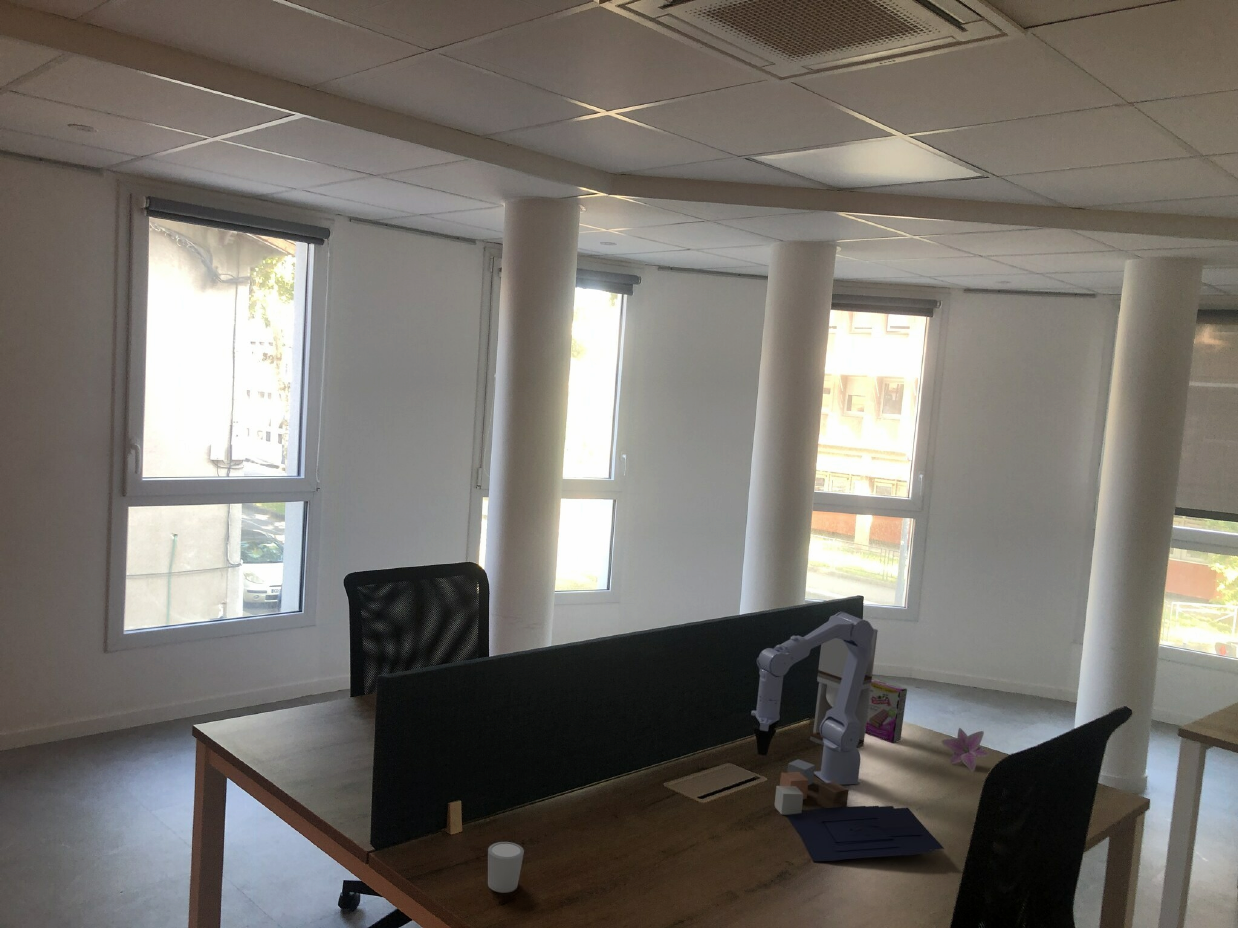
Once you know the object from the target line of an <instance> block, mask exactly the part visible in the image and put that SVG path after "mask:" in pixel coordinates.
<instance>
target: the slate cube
mask: <svg viewBox="0 0 1238 928" xmlns="http://www.w3.org/2000/svg"><path fill="white" fill-rule="evenodd" d="M787 772H799V773H800V774H802V775H803V776H804V777H805V778H807V779H808V780H809V782H808V786H810V785H812V784H813V783H814V775H815V774H814V772H815V764H813V763H811V762H806V761H805V760H801V759H799V758H798V759H795V760H793V761H790V762H789V763H787ZM787 772H786V773H787Z"/></svg>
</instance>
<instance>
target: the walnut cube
mask: <svg viewBox="0 0 1238 928" xmlns="http://www.w3.org/2000/svg"><path fill="white" fill-rule="evenodd" d="M849 791H850V790H849V788H847V787H845V786H843V785H839V784H837V783H836V782H834V781H833V782H829V783H825V782H824V783H820V784H819V787H818V793H817V795H818V796H817V803H816V804H817V805H820V806H821V807H823V808H837V807H848V800H849V799H848V797H849Z"/></svg>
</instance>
